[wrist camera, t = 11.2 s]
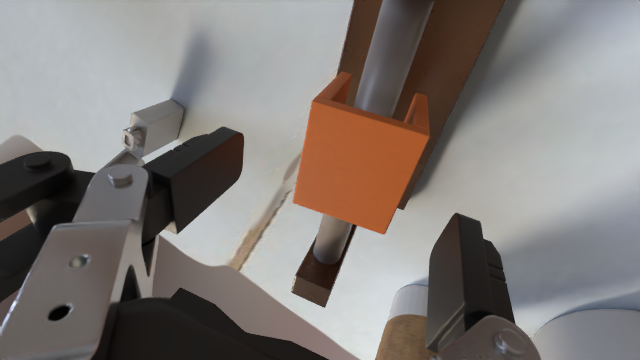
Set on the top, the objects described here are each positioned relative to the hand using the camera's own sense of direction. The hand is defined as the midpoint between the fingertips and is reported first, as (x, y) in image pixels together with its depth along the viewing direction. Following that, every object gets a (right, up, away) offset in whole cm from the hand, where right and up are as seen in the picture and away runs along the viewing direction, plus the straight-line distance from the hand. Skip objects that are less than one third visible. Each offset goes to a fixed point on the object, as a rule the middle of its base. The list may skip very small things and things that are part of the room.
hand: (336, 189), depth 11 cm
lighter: (-16, +5, +20) cm, 26 cm away
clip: (+2, +3, +5) cm, 6 cm away
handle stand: (+4, +6, +10) cm, 13 cm away
